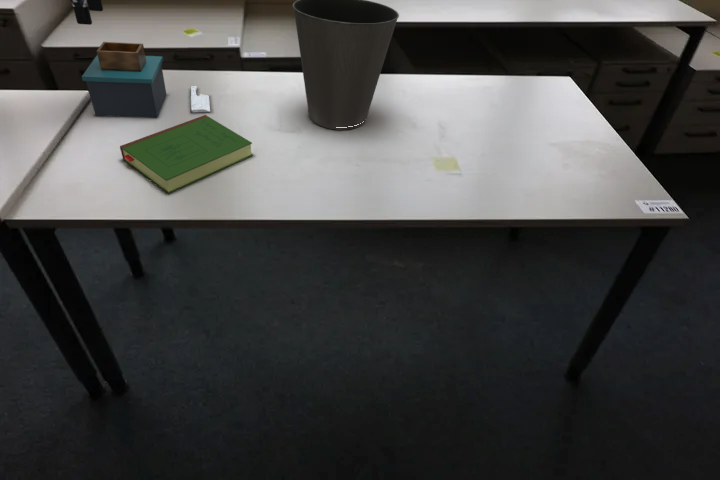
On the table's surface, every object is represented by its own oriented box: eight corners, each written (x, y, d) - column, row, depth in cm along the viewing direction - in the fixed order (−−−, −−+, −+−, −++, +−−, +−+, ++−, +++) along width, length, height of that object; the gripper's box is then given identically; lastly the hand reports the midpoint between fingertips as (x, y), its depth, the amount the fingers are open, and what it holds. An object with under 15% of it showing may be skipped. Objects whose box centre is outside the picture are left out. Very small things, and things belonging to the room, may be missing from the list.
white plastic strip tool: (208, 88, 156) (208, 85, 155) (210, 112, 145) (209, 108, 144) (191, 88, 154) (190, 85, 154) (191, 112, 144) (190, 109, 143)
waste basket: (381, 102, 159) (394, 0, 139) (388, 136, 144) (404, 26, 124) (293, 97, 156) (294, -8, 137) (290, 131, 141) (290, 18, 121)
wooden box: (101, 70, 134) (96, 51, 131) (107, 60, 139) (103, 41, 136) (141, 71, 135) (137, 53, 132) (146, 61, 140) (143, 43, 137)
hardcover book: (206, 127, 139) (205, 114, 136) (252, 155, 130) (252, 142, 128) (120, 160, 123) (116, 147, 121) (165, 195, 115) (162, 181, 113)
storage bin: (92, 116, 138) (81, 76, 130) (107, 91, 149) (98, 53, 142) (158, 118, 140) (151, 79, 133) (168, 93, 151) (162, 56, 144)
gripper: (66, -73, 120) (84, 4, 131) (40, -56, 107) (62, 28, 119) (100, -70, 121) (115, 6, 133) (78, -53, 108) (97, 30, 120)
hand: (90, 17), depth 126 cm, fingers open, 9 cm apart
